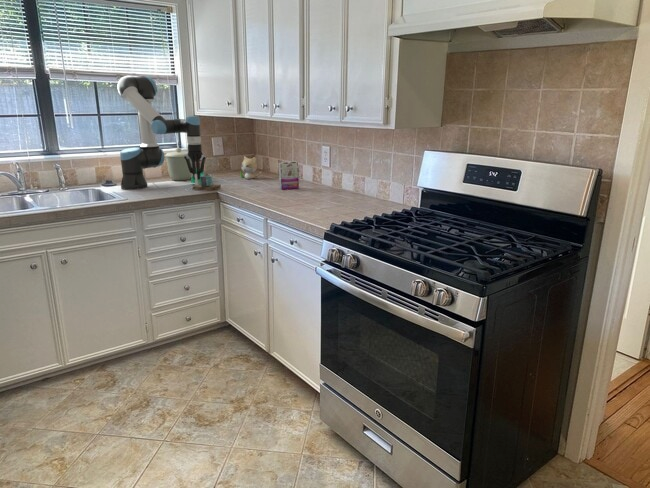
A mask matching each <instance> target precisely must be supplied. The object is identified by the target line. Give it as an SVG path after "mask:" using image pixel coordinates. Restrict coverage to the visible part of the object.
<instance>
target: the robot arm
mask: <svg viewBox="0 0 650 488" xmlns="http://www.w3.org/2000/svg"><path fill="white" fill-rule="evenodd" d="M116 87H117V91H118V94H119V95H120V97H121V98H122V99H123V100H124V101H125V102H129V104H130V105H131V106H132V107H133V108H135V110H137V115H138V123H139V124H138V126H139V132H140V133H139V134H140V141H141V142H140V143H141V144H140V145H139V147H128V148H125V149H122V150H121V151H120V157H119V158H120V163H121V172H122V177H121V181H120V182H121V183H120V188H121V190H128V191H131V190H143V189H147V188H148V182H147V180H146V178H145V175H144V169H151V168H157V167H161V166H162V165H163V164H164V162H165V159H166V157H165V156H164V155H165V152H164V151H163V149H162V148H160V145H159V143H157V138H156V135H166V134H167V135H168V134H179V133H180V134H181V133H184V134H186V139H187V140H186V141H187V142H186V143H187V152H188V155H186V156H184V158H185V160H186V162H187V165H188V169H189V172H190V173H191V175H192V176H193V179H195V183H194V186H195V185H199V179H200V173H202V172H203V171H204V168H205V163H206V160H207V158H208V157H207V156H206V155H203V151H202V150H203V149H202V144H201V143H202V137H201V136H202V135H201V134H202V133H201V121H200V120H201V119H200V116H198V115H187V116H186V117H185V119H183V118H173V119H165V118H164V117H163V116H162V115H161V113H159V112H158V111H157V109H155V107H153V102H154V101H155V96H156V95H157V93H158V87H157V84H156V82H155V81H154V80H153V78H151V77H150V76H145V75H125V76H122V77H121V78H120V79H119V80H118V83H117V86H116ZM189 157H190V159H191V162H192V166H191V163H190V160H189ZM196 169H197V172H196Z"/></svg>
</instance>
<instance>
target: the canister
mask: <svg viewBox="0 0 650 488" xmlns="http://www.w3.org/2000/svg"><path fill="white" fill-rule="evenodd" d="M186 155H188V151H182V148H181V147H176V148H175V151H172V152H171V151H170V152H167V153H166V154H164V156H165V159H166V160H165V161H166V166H167V171H168V174H169V178H170V179H171V180H172V181H176V182H177V181H178V182H180V181H181V182H182V181H188V180H191V179H192V173H190V172H189V169H188V165H187V162H186V160H185V158H184V156H186ZM189 160H190V163H191V166H192V162H191V159H190V157H189Z"/></svg>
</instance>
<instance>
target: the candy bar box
mask: <svg viewBox="0 0 650 488" xmlns="http://www.w3.org/2000/svg"><path fill="white" fill-rule="evenodd" d="M299 177H300V176H299V162H298V161H297V160H291V161H290V160H289V161H278V178H279V183H278V185H279V190H281V191H284V190H285V191H286V190H287V189H288V190H298V189H300V187H299V183H300V182H299Z"/></svg>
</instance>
